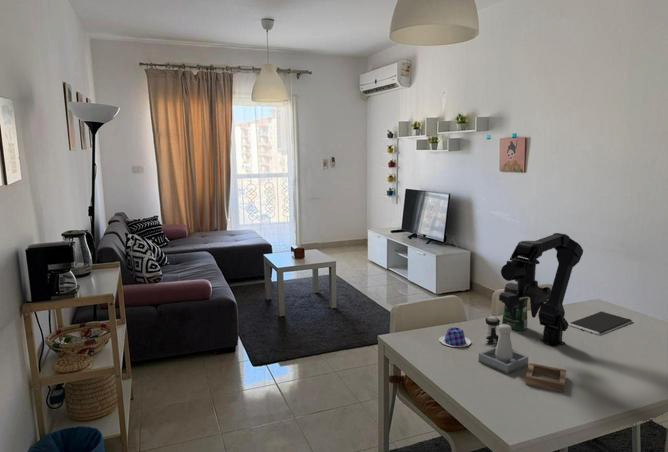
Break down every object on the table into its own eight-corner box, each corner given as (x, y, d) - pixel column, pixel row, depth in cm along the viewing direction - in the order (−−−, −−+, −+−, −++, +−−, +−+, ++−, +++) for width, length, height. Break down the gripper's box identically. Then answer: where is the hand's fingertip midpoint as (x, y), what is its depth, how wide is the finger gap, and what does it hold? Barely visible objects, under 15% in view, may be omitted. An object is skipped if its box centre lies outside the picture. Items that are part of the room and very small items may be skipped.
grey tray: (499, 353, 168) (499, 345, 167) (527, 365, 158) (528, 356, 158) (478, 361, 161) (478, 353, 161) (507, 374, 152) (507, 365, 151)
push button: (490, 346, 173) (491, 321, 172) (479, 342, 178) (480, 317, 176) (501, 342, 177) (503, 318, 175) (490, 338, 181) (491, 314, 180)
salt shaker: (495, 356, 164) (496, 321, 162) (512, 358, 161) (514, 323, 159) (494, 363, 158) (496, 327, 156) (512, 365, 156) (514, 329, 154)
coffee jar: (498, 326, 194) (501, 283, 191) (508, 321, 199) (511, 280, 196) (520, 332, 187) (523, 288, 184) (530, 328, 192) (532, 285, 189)
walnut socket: (529, 369, 155) (529, 362, 154) (565, 377, 150) (566, 369, 149) (525, 384, 145) (525, 376, 145) (564, 392, 140) (564, 384, 140)
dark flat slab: (566, 327, 194) (566, 323, 194) (601, 314, 208) (601, 310, 208) (598, 337, 183) (598, 333, 183) (632, 323, 197) (633, 319, 197)
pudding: (456, 334, 187) (456, 322, 186) (477, 345, 176) (478, 332, 175) (432, 340, 181) (433, 327, 180) (453, 351, 171) (454, 337, 170)
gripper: (522, 285, 153) (519, 330, 155) (564, 280, 159) (561, 323, 162) (499, 277, 163) (496, 319, 165) (539, 272, 169) (537, 313, 172)
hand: (523, 318), depth 166 cm, fingers open, 9 cm apart
